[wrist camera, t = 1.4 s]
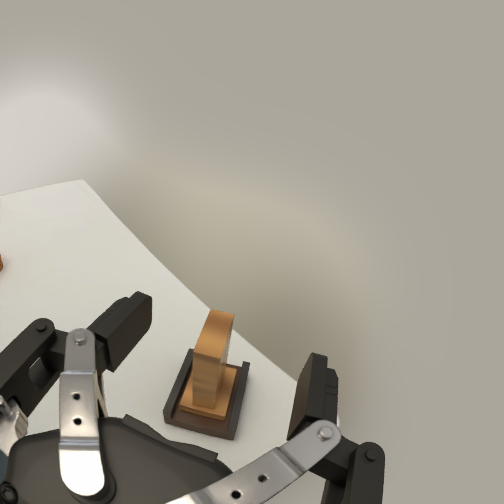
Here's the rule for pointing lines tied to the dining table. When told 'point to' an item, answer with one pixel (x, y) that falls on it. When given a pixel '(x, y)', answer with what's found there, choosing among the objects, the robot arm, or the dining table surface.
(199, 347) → the wooden pedestal block
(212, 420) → the brown u-shaped block
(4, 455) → the blue railed block
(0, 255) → the mug
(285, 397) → the dining table surface
